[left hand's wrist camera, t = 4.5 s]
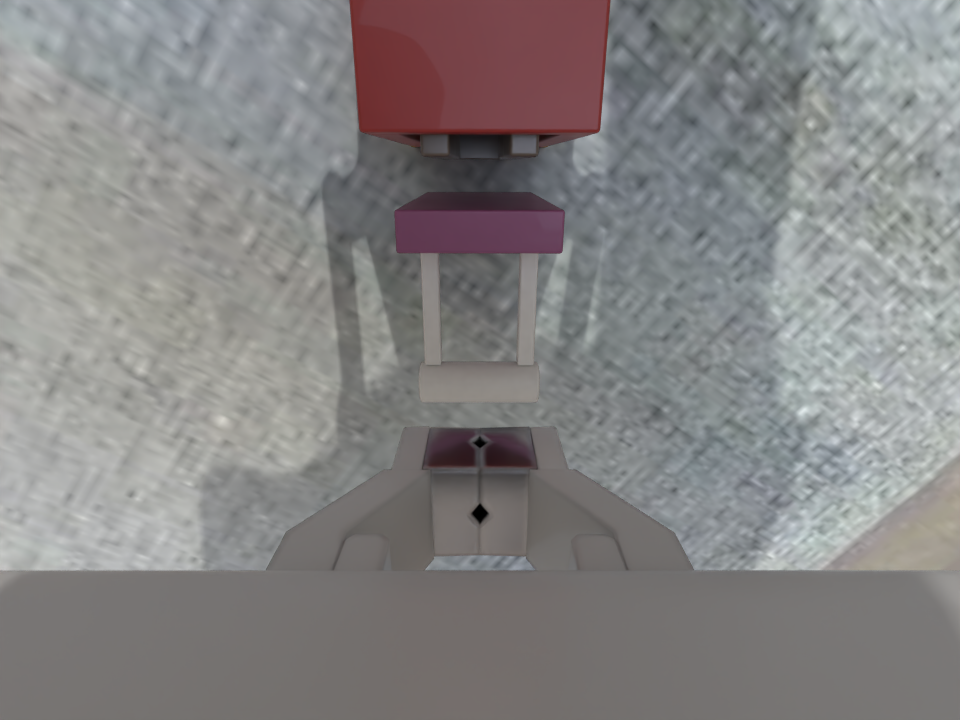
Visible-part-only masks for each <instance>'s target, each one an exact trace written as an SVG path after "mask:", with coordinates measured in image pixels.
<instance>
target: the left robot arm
mask: <svg viewBox="0 0 960 720" xmlns="http://www.w3.org/2000/svg"><path fill="white" fill-rule="evenodd" d="M463 555H495V556H526V559H527V560H528V561H529V562H530V564H531V565H532V566H533V567H534V568H535V570H536V571H424V570H425V569H426V568H427V566H428V565H429V564H430V563H431V562H432V560H433V559H434V556H463ZM0 720H960V571H926V570H694V569H693V567H692V565H691V563H690V561H689V559H688V557H687V555H686V554H685V552H684V550H683V548H682V546H681V544H680V542H679V540H678V538H677V537H676V535H675V533H674V532H673V531H671V530H670V529H668V528H666V527H665V526H663V525H662V524H660V523H659V522H657V521H655V520H654V519H652V518H651V517H649V516H648V515H646V514H645V513H643V512H641V511H640V510H638V509H637V508H635V507H634V506H632V505H630V504H629V503H627V502H626V501H624V500H623V499H621V498H619V497H618V496H616V495H615V494H613V493H612V492H610V491H608V490H607V489H605V488H604V487H602V486H601V485H599V484H598V483H596V482H594V481H593V480H591V479H590V478H588V477H587V476H585V475H583V474H582V473H580V472H579V471H577V470H569V469H568V466H567V462H566V459H565V456H564V452H563V449H562V446H561V442H560V439H559V436H558V432H557V429H556V428H555V427H554V426H550V427H501V428H456V427H431V428H430V427H429V426H426V427H405V428H404V429H403V432H402V435H401V438H400V442H399V445H398V449H397V452H396V455H395V459H394V462H393V466H392V469H391V470H383V471H381V472H380V473H378V474H377V475H375V476H373V477H372V478H370V479H369V480H367V481H366V482H364V483H362V484H361V485H359V486H358V487H356V488H355V489H353V490H351V491H350V492H348V493H347V494H345V495H344V496H342V497H340V498H339V499H337V500H336V501H334V502H332V503H331V504H329V505H328V506H326V507H325V508H323V509H321V510H320V511H318V512H317V513H315V514H314V515H312V516H310V517H309V518H307V519H306V520H304V521H303V522H301V523H299V524H298V525H296V526H295V527H293V528H292V529H290V530H288V531H287V532H286V533H285V535H284V537H283V539H282V541H281V543H280V545H279V546H278V548H277V550H276V552H275V554H274V556H273V558H272V559H271V561H270V563H269V565H268V567H267V569H266V571H0Z"/></svg>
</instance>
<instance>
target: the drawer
mask: <svg viewBox="0 0 960 720" xmlns="http://www.w3.org/2000/svg"><path fill="white" fill-rule="evenodd" d="M420 145H421V155H422V156H424V157H431V158H438V159H522V158H530V157H536V156H538V153H539V135H495V134H420ZM394 215H395V233H396V251H397V253H420V254H421V279H422V304H423V329H424V354H425V362H421V365H420V370H419V395H420V400H421V402H537V401H538V398H539V388H540V377H539V367H538V364H537V362H534V344H535V321H536V298H537V274H538V253H562V251H563V235H564V218H565V212H564V210H562V209H560V208H558V207H556V206H555V205H553V204H551V203H549V202H547V201H545V200H544V199H542V198H540V197H538V196H536V195H535V194H533V193H531V192H427V193H426V194H424V195H422V196H420V197H418V198H417V199H415V200H413V201H411V202H409V203H408V204H406V205H404V206H402V207H400V208H399V209H397V210H395V212H394ZM439 253H520V257H519V291H518V325H517V358H516V359H517V362H442V340H441V303H440V265H439Z"/></svg>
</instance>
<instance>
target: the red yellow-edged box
mask: <svg viewBox="0 0 960 720" xmlns="http://www.w3.org/2000/svg"><path fill="white" fill-rule="evenodd" d="M609 12H610V0H350V14H351V27H352V40H353V53H354V66H355V79H356V92H357V105H358V119H359V129H360V131H361V132H363V133H366V134H369V135H373V136H377V137H380V138H384V139H388V140H391V141H395V142H399V143H403V144H406V145H410V146H411V147H421V145H420V134H495V135H539V147H548V146H550V145H554V144H557V143H561V142H565V141H569V140H573V139H577V138H581V137H584V136H588V135H591V134H595V133H598V132H599V131H600V125H601V113H602V100H603V87H604V75H605V62H606V49H607V37H608V24H609Z"/></svg>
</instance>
